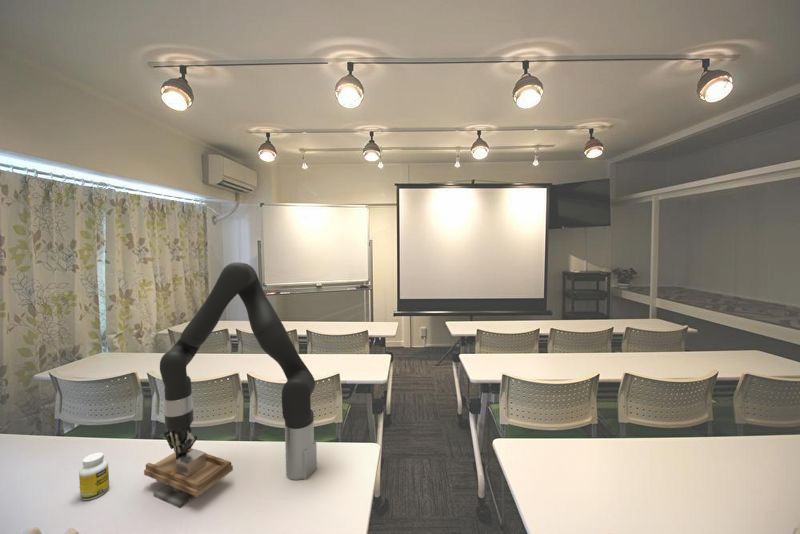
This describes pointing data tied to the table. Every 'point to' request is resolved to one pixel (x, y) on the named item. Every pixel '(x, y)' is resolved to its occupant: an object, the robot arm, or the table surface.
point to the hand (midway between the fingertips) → (181, 461)
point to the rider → (191, 462)
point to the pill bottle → (94, 476)
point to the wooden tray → (186, 478)
